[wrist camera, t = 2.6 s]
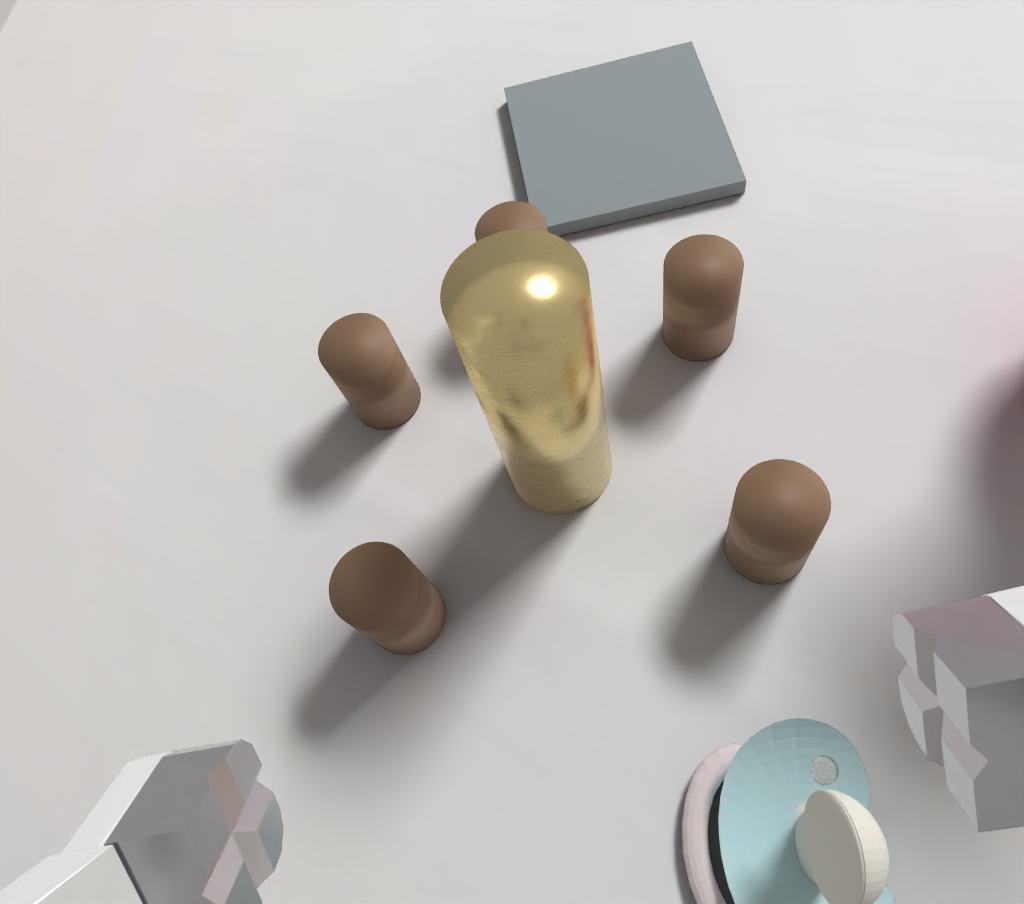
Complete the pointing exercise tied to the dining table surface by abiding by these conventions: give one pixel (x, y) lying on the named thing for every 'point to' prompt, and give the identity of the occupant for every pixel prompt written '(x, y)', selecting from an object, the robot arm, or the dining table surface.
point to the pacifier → (786, 822)
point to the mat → (622, 140)
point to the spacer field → (687, 332)
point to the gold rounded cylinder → (533, 362)
